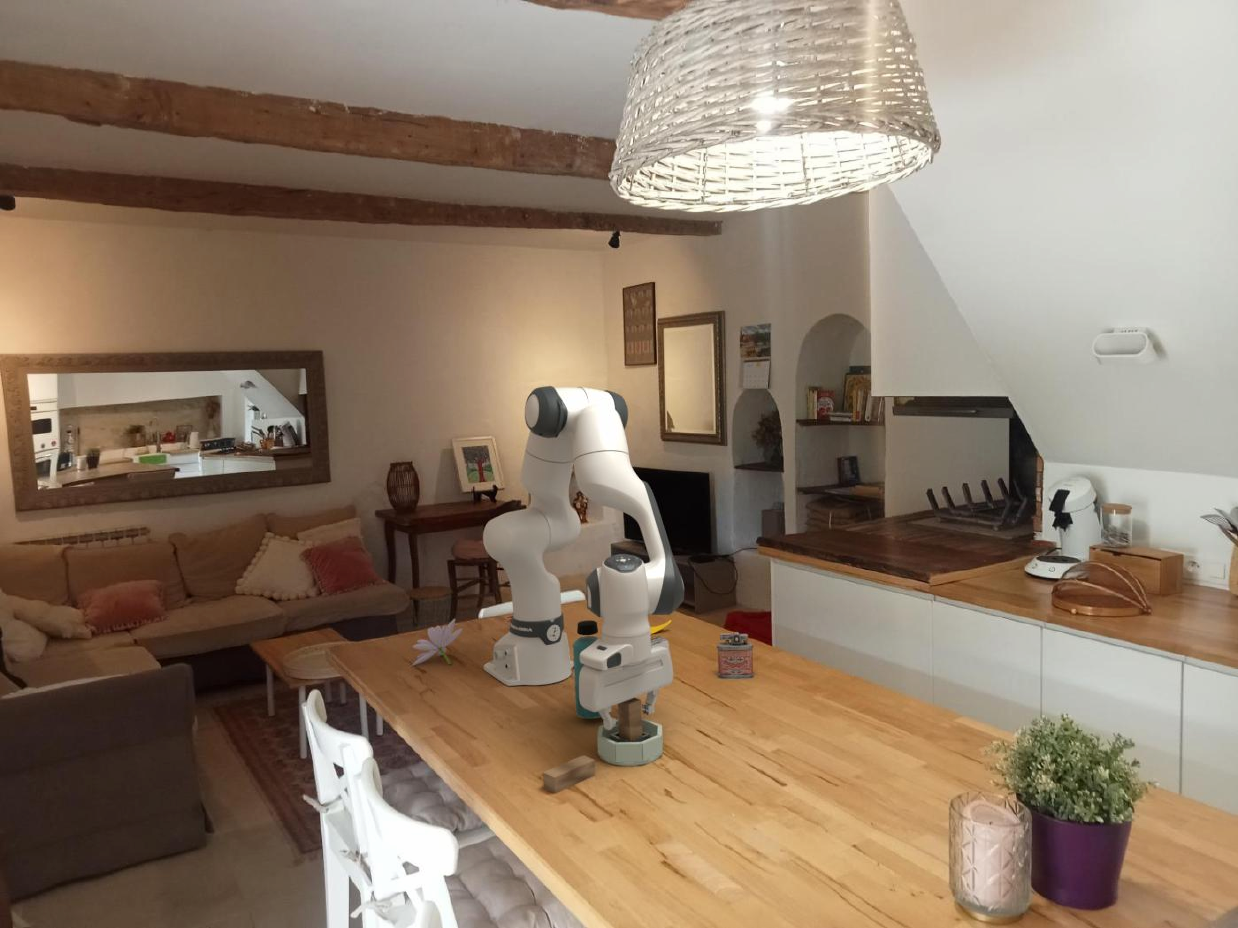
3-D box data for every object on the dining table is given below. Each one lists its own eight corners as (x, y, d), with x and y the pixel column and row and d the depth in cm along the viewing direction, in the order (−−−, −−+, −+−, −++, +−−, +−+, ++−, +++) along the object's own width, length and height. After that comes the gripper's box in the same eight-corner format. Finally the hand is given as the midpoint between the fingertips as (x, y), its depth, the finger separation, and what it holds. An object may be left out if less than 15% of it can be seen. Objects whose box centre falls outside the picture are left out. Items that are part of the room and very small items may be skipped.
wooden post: (619, 747, 162) (617, 700, 161) (631, 742, 164) (629, 695, 163) (630, 752, 160) (628, 704, 159) (642, 747, 162) (641, 699, 161)
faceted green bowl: (586, 752, 163) (585, 731, 162) (632, 733, 171) (631, 713, 170) (628, 772, 154) (627, 749, 154) (676, 751, 162) (675, 729, 161)
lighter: (753, 673, 201) (752, 630, 200) (754, 679, 198) (753, 635, 197) (717, 674, 202) (716, 631, 201) (717, 679, 198) (716, 635, 197)
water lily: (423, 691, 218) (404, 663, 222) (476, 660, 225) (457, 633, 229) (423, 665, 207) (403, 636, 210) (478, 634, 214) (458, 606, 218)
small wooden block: (583, 771, 156) (583, 754, 156) (595, 776, 154) (594, 759, 153) (543, 789, 150) (542, 772, 149) (555, 794, 148) (554, 777, 147)
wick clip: (610, 748, 163) (609, 734, 162) (631, 739, 166) (631, 726, 166) (629, 756, 159) (629, 742, 158) (650, 747, 162) (650, 734, 162)
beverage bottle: (584, 728, 174) (579, 628, 172) (570, 717, 180) (565, 620, 178) (613, 721, 177) (609, 623, 175) (599, 710, 183) (594, 615, 181)
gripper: (655, 630, 170) (658, 700, 171) (571, 656, 156) (575, 732, 158) (679, 636, 165) (682, 708, 166) (595, 664, 151) (598, 742, 153)
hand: (629, 720), depth 162 cm, fingers open, 8 cm apart
